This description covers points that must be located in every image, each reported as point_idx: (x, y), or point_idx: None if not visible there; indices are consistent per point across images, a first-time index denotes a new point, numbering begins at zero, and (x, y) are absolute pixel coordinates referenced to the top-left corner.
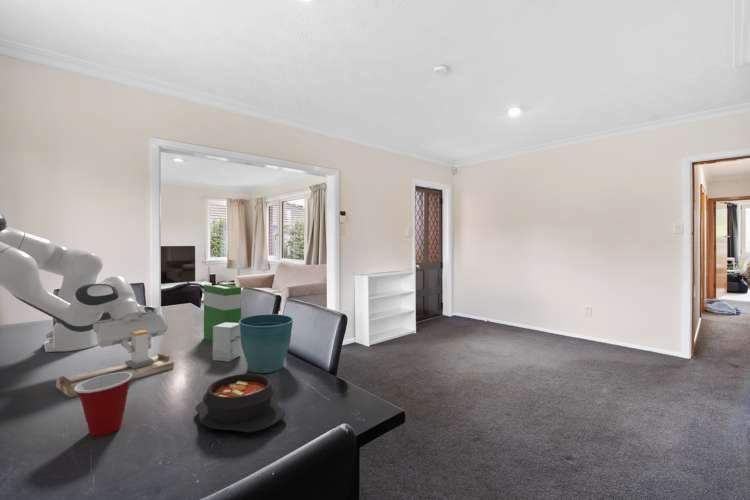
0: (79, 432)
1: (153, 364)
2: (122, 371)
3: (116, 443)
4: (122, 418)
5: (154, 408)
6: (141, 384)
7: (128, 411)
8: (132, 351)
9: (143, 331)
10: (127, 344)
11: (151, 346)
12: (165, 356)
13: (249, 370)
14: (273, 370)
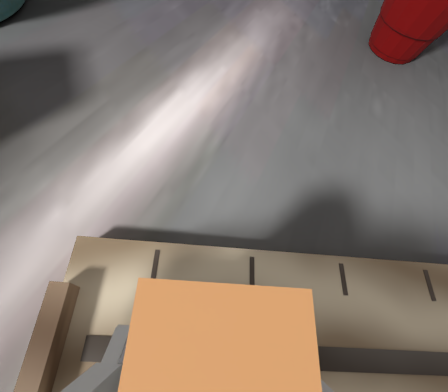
0: (428, 73)
1: None
2: None
3: None
4: (376, 21)
5: (301, 46)
6: (264, 187)
7: (344, 73)
8: None
9: (183, 332)
10: (323, 387)
11: (119, 326)
12: (65, 295)
13: (18, 7)
14: None
